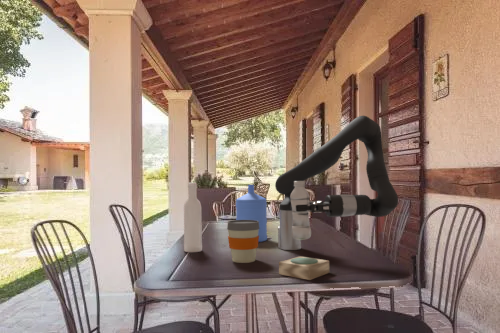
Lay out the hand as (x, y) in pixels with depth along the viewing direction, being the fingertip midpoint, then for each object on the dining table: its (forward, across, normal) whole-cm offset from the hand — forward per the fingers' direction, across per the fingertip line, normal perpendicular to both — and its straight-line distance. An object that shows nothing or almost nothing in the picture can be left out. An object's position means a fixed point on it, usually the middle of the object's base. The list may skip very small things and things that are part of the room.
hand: (293, 207), depth 137 cm
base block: (-2, +2, +22) cm, 22 cm away
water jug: (+3, -69, +22) cm, 73 cm away
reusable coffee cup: (+14, -23, +22) cm, 35 cm away
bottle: (+33, -47, +21) cm, 62 cm away
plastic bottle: (-2, 0, +11) cm, 11 cm away
